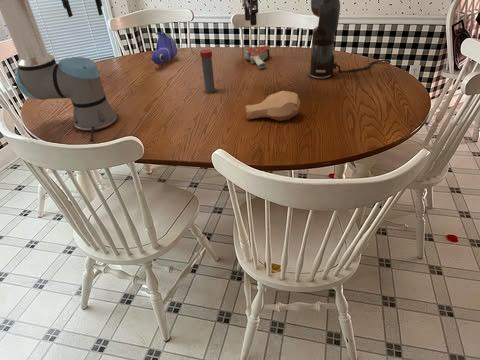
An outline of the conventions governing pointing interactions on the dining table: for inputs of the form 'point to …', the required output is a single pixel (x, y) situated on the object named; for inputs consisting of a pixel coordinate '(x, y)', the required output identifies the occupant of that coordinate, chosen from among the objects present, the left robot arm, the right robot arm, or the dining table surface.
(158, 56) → the toy
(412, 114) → the dining table surface
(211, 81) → the dark grey piece
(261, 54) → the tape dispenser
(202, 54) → the lid
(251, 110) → the squash
